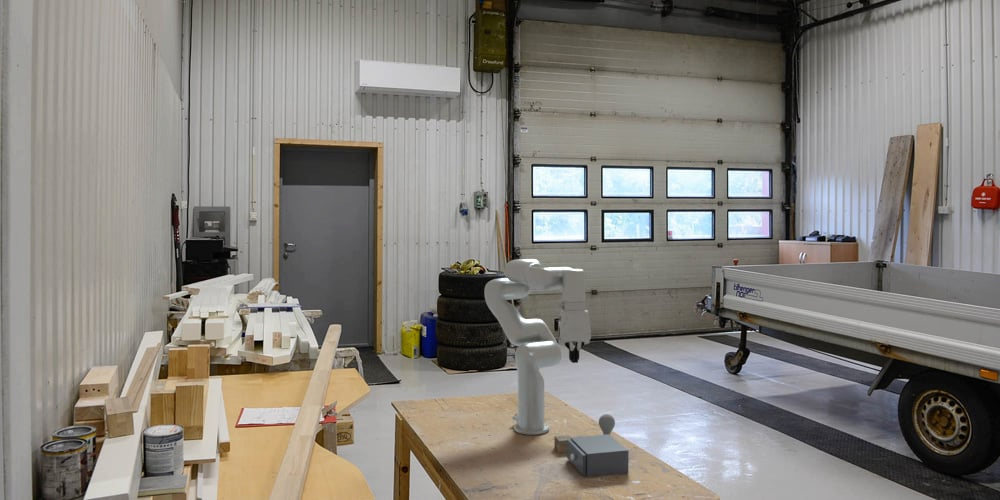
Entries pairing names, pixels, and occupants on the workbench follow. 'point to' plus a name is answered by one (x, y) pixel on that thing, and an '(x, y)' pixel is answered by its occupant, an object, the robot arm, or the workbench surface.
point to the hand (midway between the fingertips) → (574, 361)
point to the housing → (602, 455)
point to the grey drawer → (576, 457)
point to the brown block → (561, 443)
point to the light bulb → (606, 423)
